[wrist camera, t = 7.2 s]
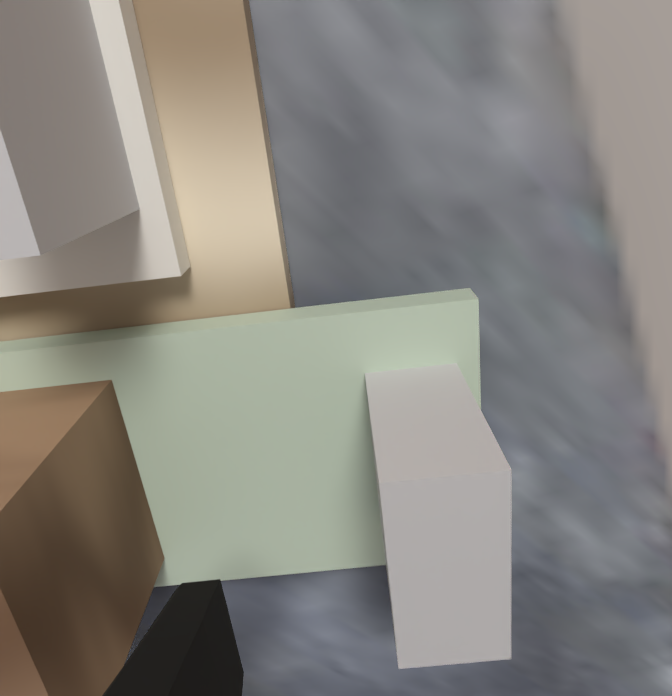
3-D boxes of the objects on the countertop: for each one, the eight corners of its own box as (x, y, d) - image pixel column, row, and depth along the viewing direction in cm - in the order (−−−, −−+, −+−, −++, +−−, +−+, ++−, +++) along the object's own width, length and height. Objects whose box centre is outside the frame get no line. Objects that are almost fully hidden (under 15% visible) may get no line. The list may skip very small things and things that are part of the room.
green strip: (476, 534, 15) (537, 710, 10) (-34, 583, 15) (-183, 771, 11) (469, 288, 12) (547, 382, 8) (-142, 358, 13) (-393, 483, 8)
